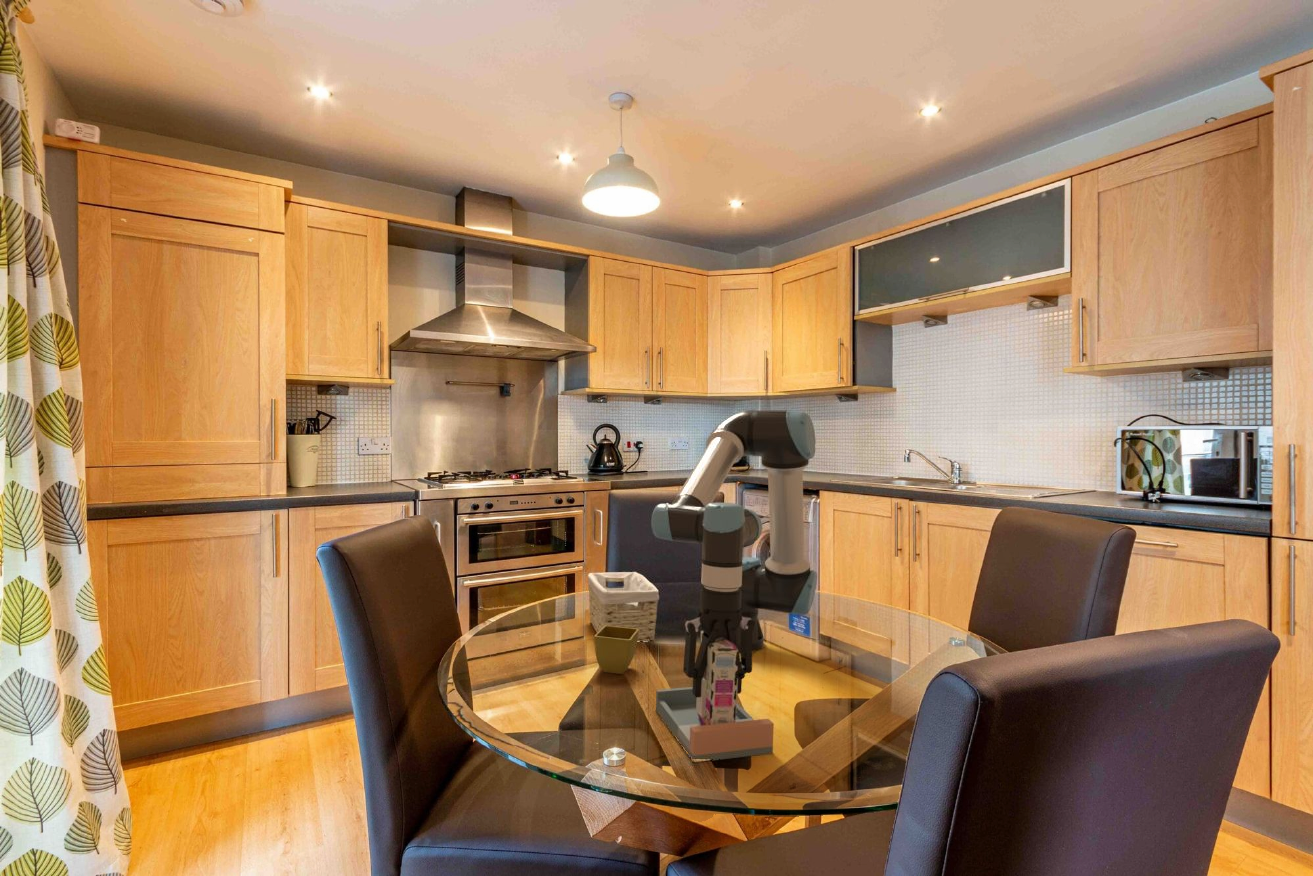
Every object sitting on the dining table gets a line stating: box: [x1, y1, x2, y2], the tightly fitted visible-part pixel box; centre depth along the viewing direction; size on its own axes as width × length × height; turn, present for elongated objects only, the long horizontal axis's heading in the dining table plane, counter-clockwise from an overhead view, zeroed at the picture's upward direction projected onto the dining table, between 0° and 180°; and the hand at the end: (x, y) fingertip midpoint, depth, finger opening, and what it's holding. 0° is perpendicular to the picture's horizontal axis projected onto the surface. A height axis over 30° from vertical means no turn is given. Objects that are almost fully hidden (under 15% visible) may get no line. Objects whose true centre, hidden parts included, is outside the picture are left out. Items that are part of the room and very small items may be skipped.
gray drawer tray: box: [655, 686, 775, 761], centre depth 118 cm, size 15×21×5 cm
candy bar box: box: [698, 630, 738, 725], centre depth 116 cm, size 11×5×16 cm, turn 8°
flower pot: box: [593, 626, 639, 675], centre depth 147 cm, size 9×9×9 cm
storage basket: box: [587, 571, 660, 641], centre depth 177 cm, size 24×16×15 cm
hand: (716, 712), depth 116 cm, fingers closed on candy bar box, 5 cm apart
